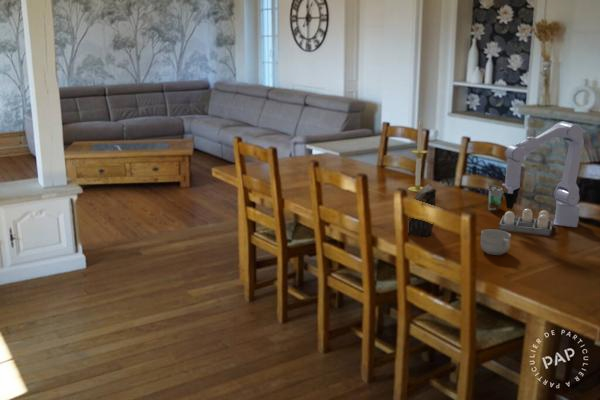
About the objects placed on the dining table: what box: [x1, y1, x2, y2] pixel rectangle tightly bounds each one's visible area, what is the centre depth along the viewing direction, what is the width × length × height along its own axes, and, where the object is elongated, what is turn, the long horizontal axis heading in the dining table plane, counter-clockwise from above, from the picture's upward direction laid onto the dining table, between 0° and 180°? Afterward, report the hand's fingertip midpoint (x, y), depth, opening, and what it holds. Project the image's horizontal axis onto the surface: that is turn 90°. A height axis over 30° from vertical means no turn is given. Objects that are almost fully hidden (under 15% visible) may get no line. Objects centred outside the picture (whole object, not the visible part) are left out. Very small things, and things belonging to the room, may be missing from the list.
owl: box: [408, 183, 437, 239], centre depth 261 cm, size 13×13×20 cm
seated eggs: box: [521, 208, 550, 229], centre depth 267 cm, size 11×11×7 cm
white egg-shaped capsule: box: [504, 210, 515, 226], centre depth 268 cm, size 4×4×7 cm
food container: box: [487, 184, 504, 212], centre depth 295 cm, size 12×6×10 cm, turn 168°
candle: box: [407, 118, 428, 193], centre depth 326 cm, size 10×10×38 cm
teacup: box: [480, 228, 512, 256], centre depth 239 cm, size 14×11×8 cm
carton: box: [498, 214, 554, 237], centre depth 269 cm, size 20×14×2 cm
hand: (510, 206), depth 266 cm, fingers open, 7 cm apart
